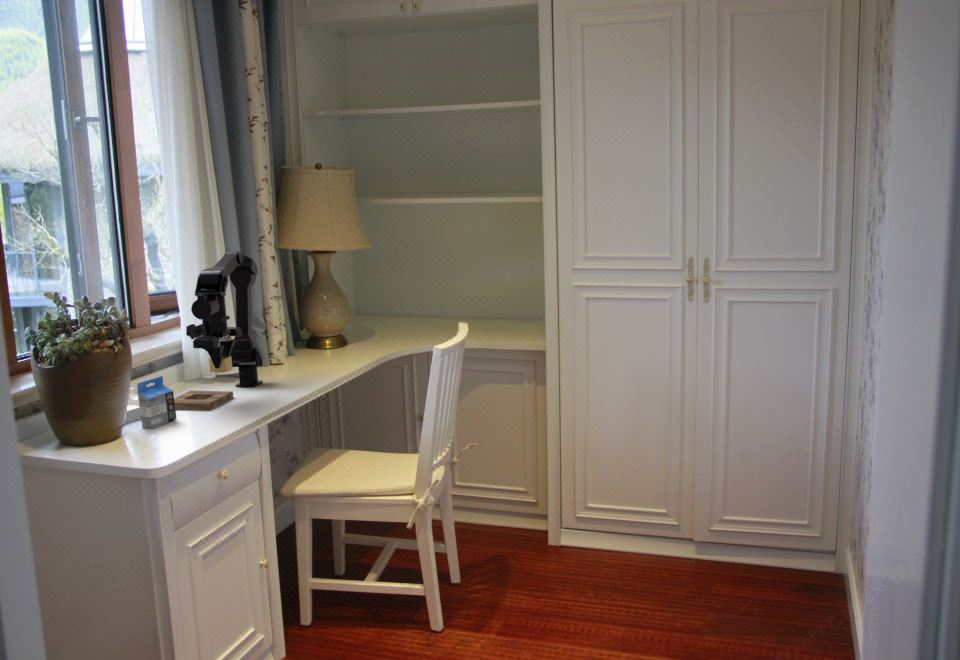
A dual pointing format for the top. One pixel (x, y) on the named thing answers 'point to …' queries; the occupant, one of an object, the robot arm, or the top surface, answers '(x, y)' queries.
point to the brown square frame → (202, 400)
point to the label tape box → (156, 403)
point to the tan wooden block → (222, 365)
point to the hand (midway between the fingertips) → (220, 366)
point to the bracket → (133, 407)
